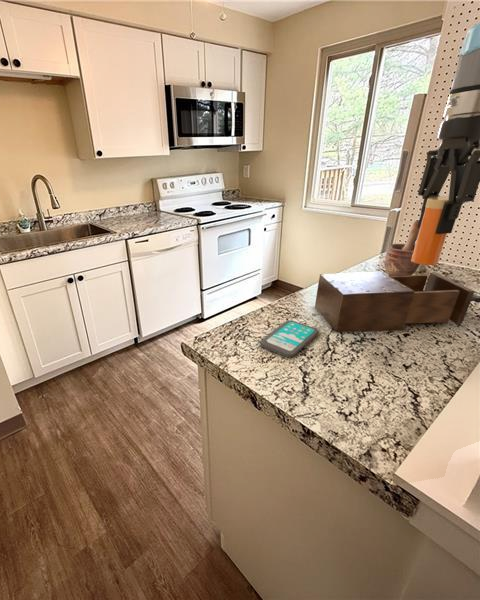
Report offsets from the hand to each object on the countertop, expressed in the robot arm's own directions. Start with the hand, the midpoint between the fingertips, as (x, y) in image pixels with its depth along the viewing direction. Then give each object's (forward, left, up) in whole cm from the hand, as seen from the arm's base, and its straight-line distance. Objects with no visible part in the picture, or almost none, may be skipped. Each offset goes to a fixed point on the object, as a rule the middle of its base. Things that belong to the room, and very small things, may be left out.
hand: (433, 230), depth 72 cm
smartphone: (+26, +23, -23) cm, 41 cm away
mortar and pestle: (+1, -21, -23) cm, 31 cm away
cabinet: (+12, +6, -23) cm, 26 cm away
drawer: (-3, -1, -22) cm, 22 cm away
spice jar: (0, 0, -8) cm, 8 cm away
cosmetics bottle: (-6, -39, -23) cm, 46 cm away
